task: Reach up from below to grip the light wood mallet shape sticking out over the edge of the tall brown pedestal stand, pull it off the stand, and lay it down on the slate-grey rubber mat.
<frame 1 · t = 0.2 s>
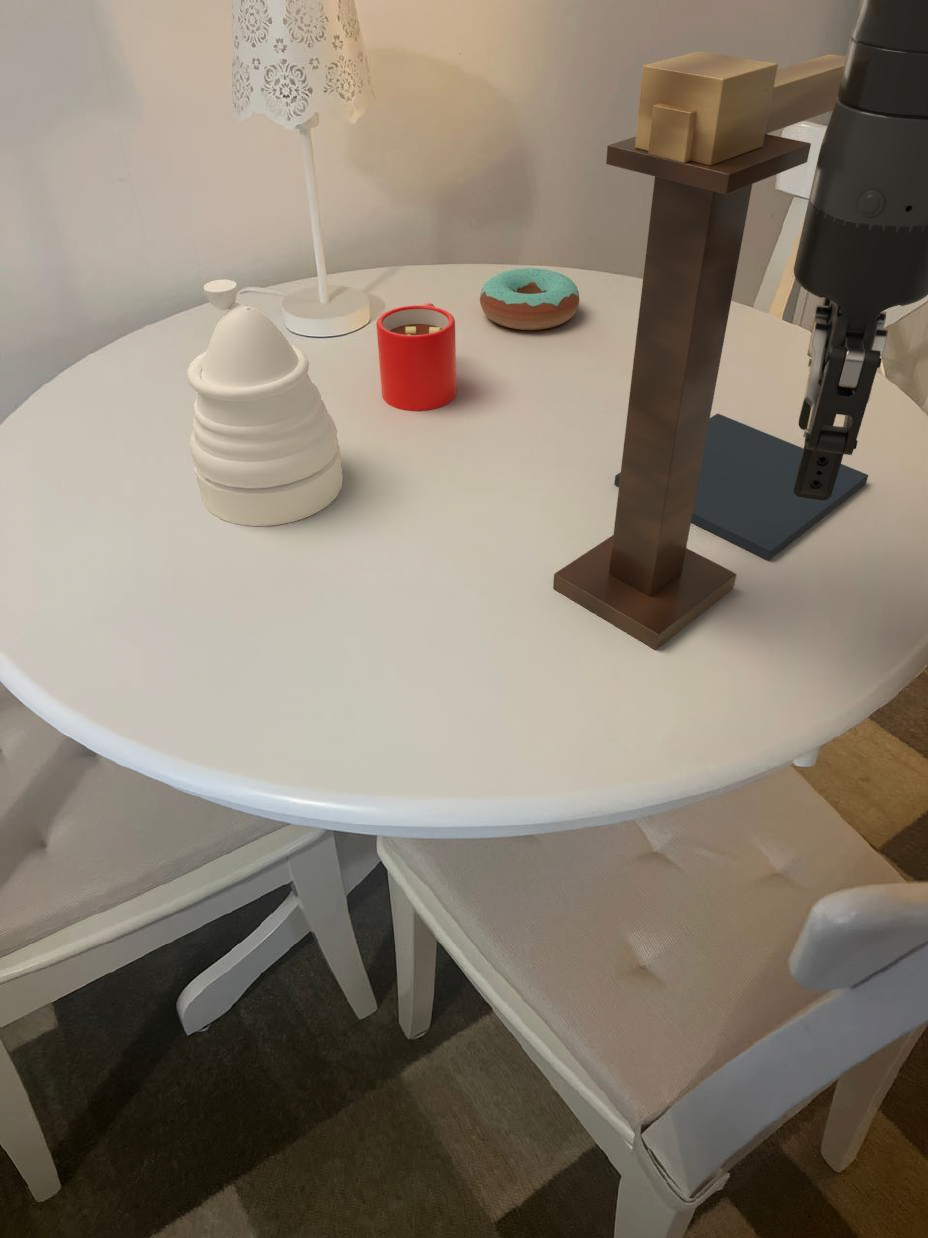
hand: (812, 460, 60), 14 cm above the table, tool pointing down, fingers open, 8 cm apart
light wood mallet shape: (758, 126, 54), point 32 cm above the table, touching brown pedestal stand
brown pedestal stand: (642, 588, 72), on the table
mat: (739, 484, 83), on the table
donut: (528, 316, 112), on the table
mug: (422, 384, 99), on the table
honey pot: (272, 486, 84), on the table
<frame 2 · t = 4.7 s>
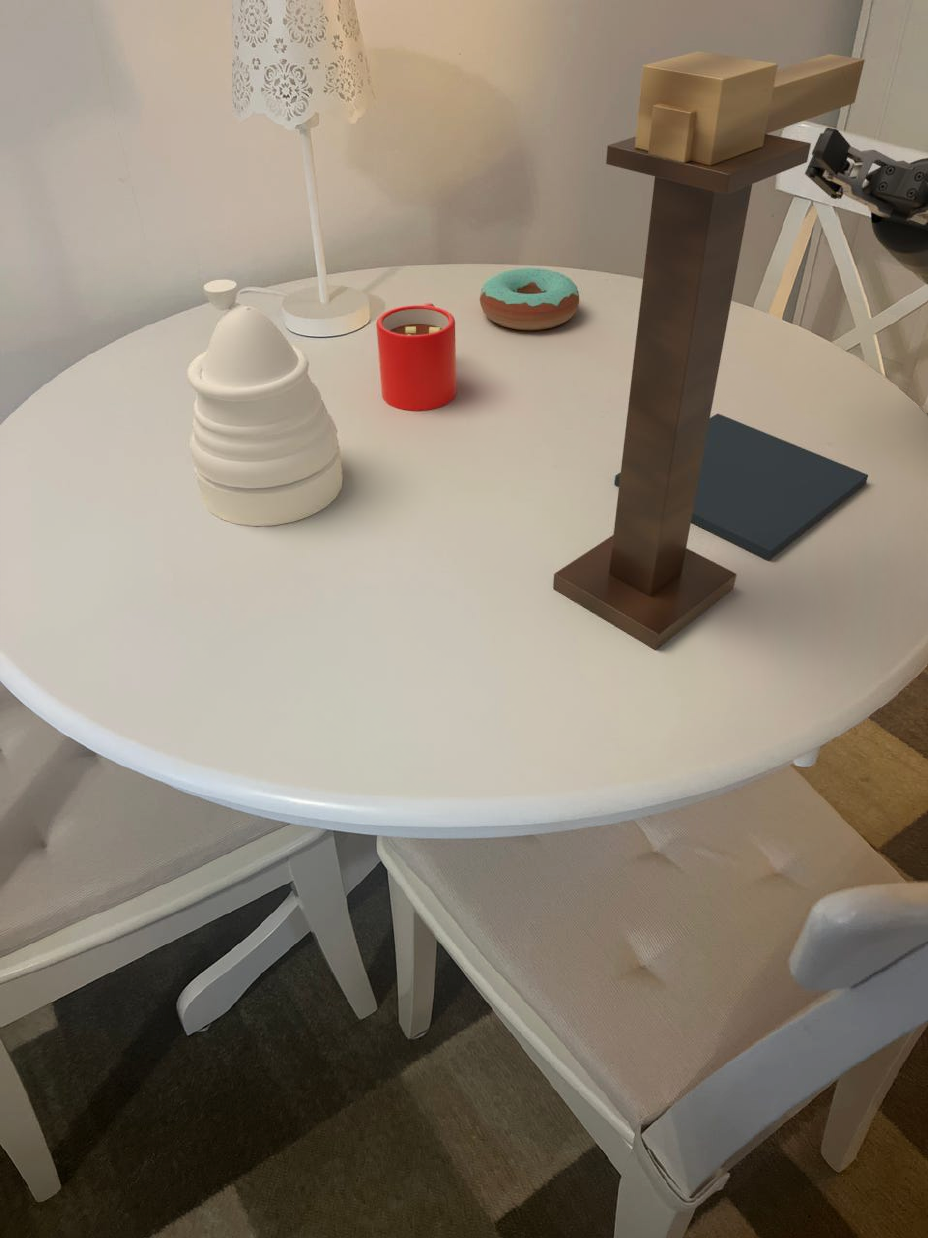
hand: (878, 152, 66), 27 cm above the table, tool pointing upward, fingers open, 8 cm apart
nothing on the table moved.
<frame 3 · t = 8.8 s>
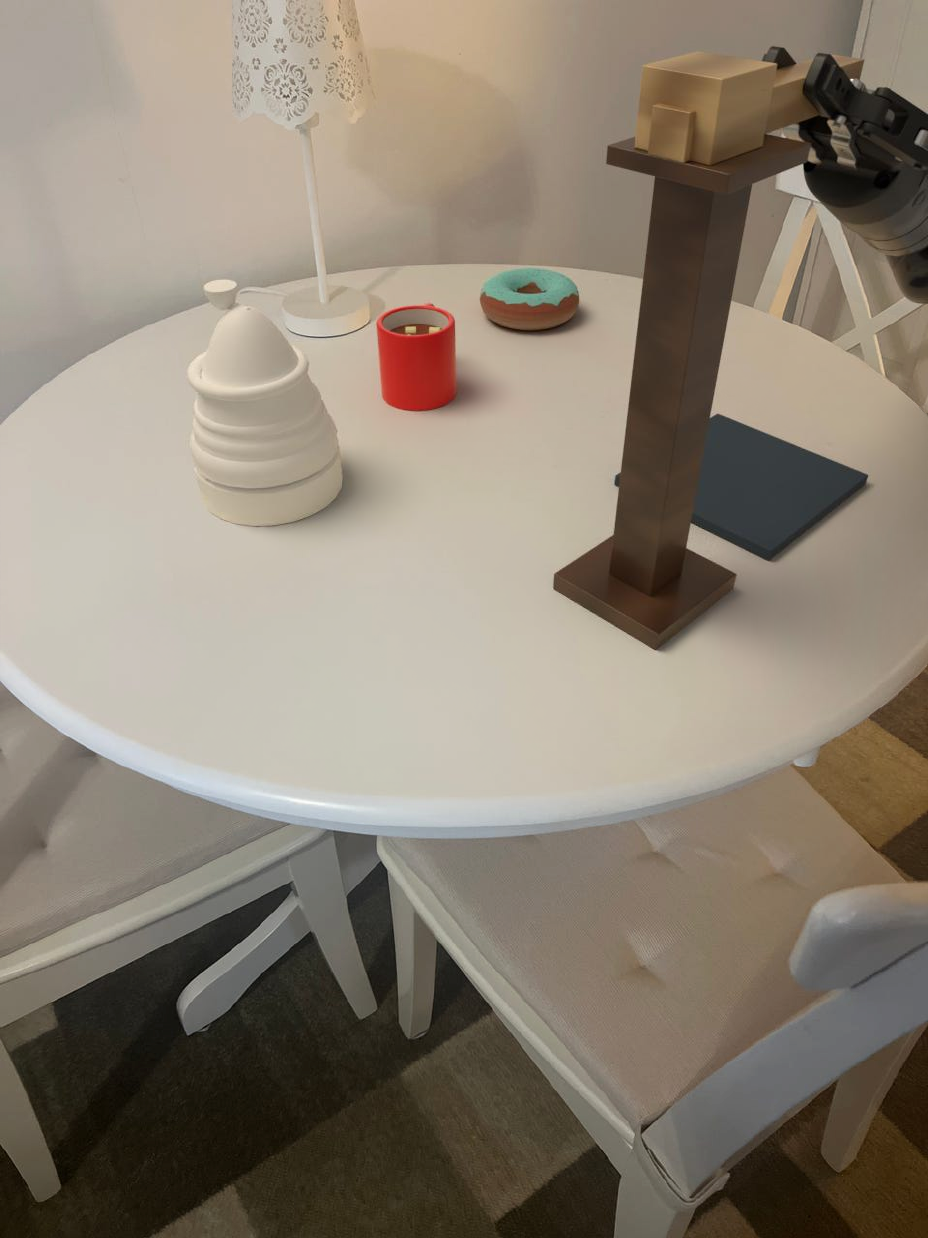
hand: (791, 67, 53), 35 cm above the table, tool pointing upward, fingers closed on light wood mallet shape, 2 cm apart
light wood mallet shape: (758, 126, 54), point 32 cm above the table, touching gripper, brown pedestal stand
everything else where it was.
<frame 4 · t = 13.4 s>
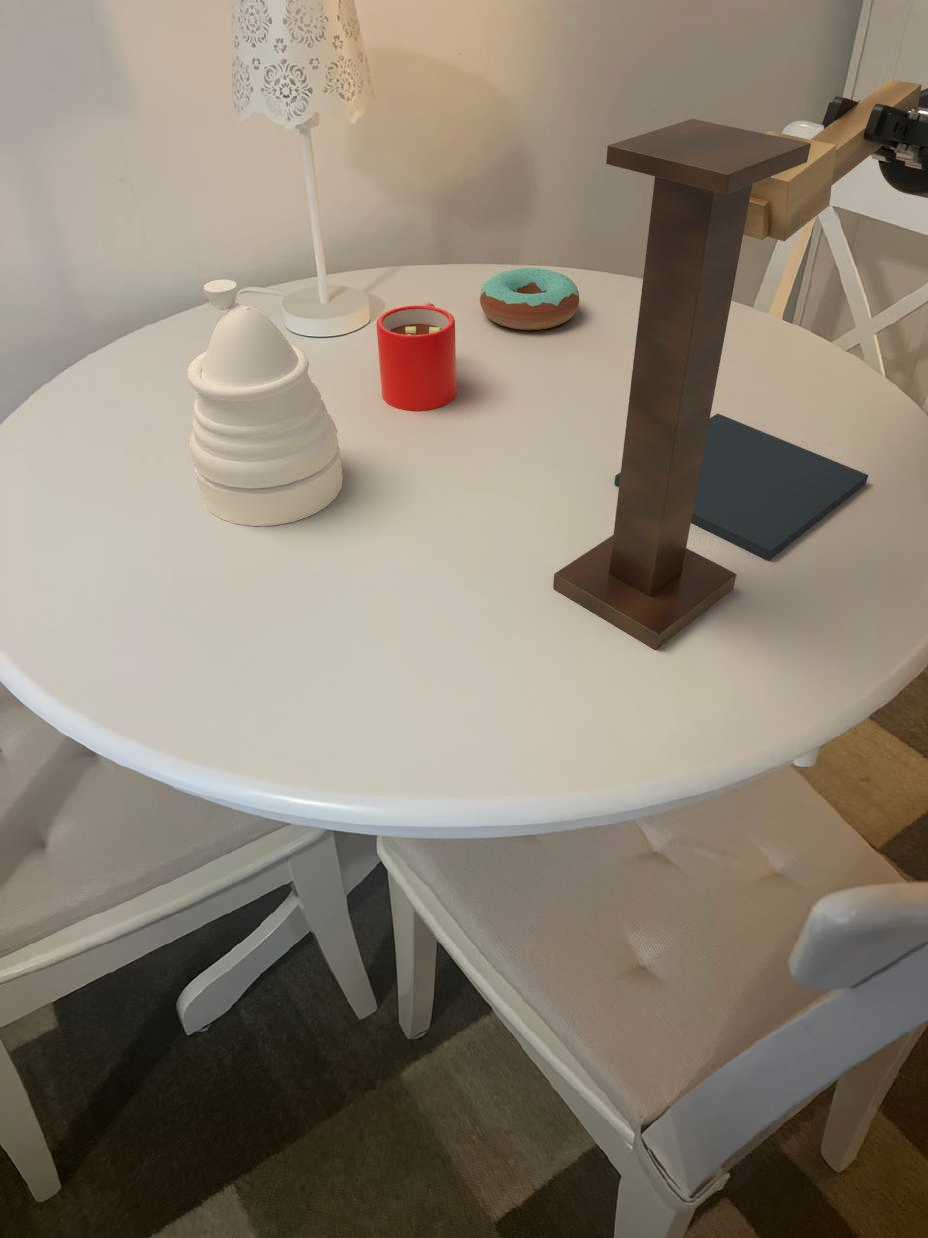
hand: (853, 117, 63), 30 cm above the table, tool pointing upward, fingers closed on light wood mallet shape, 2 cm apart
light wood mallet shape: (827, 173, 64), point 27 cm above the table, tilted 14°, touching gripper
everything else where it was.
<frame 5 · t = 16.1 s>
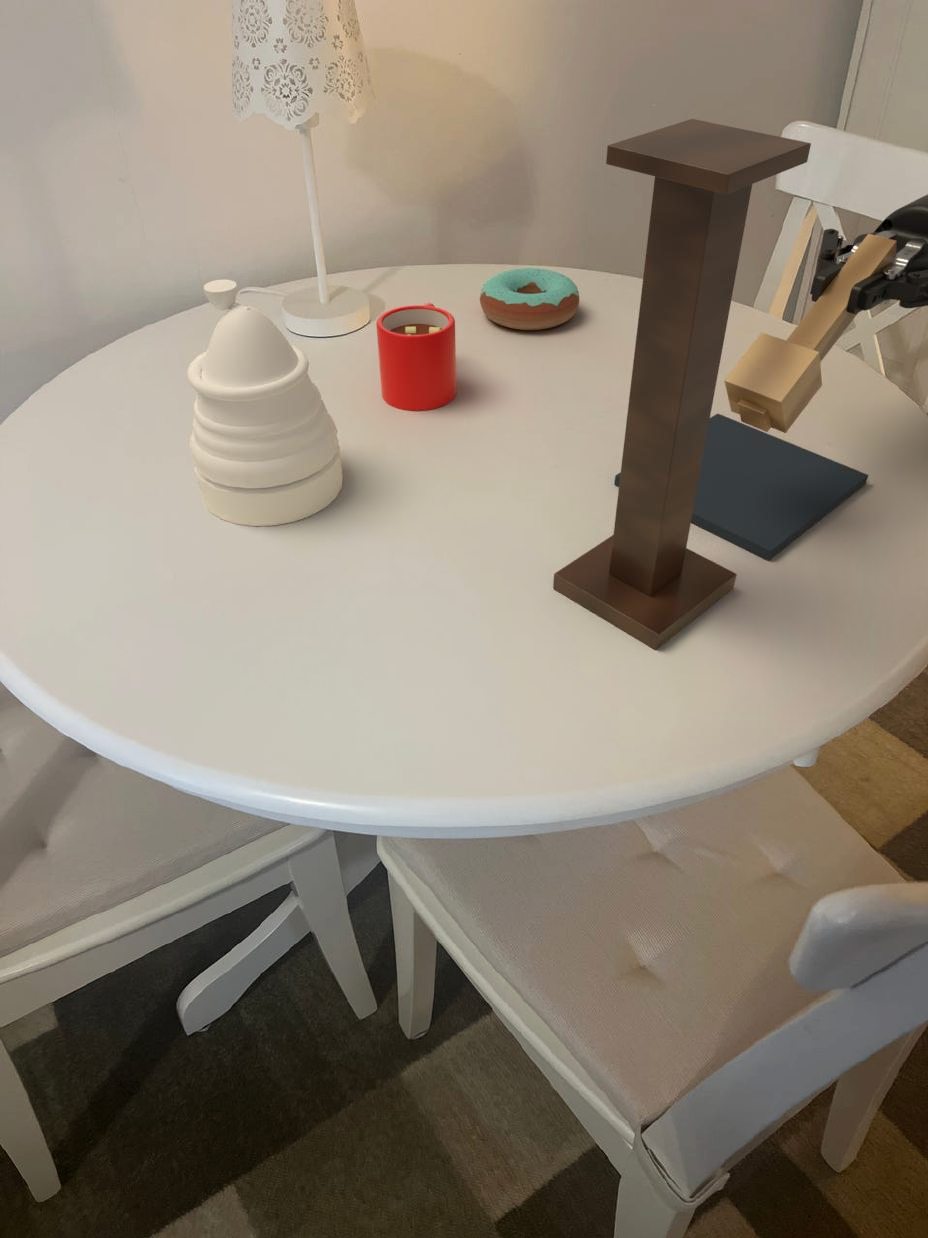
hand: (835, 295, 72), 17 cm above the table, tool horizontal, fingers closed on light wood mallet shape, 2 cm apart
light wood mallet shape: (819, 341, 74), point 14 cm above the table, tilted 30°, touching gripper
everything else where it was.
when the fingers open (9 cm above the table, at t = 18.4 s): light wood mallet shape drops 5 cm, resting on mat.
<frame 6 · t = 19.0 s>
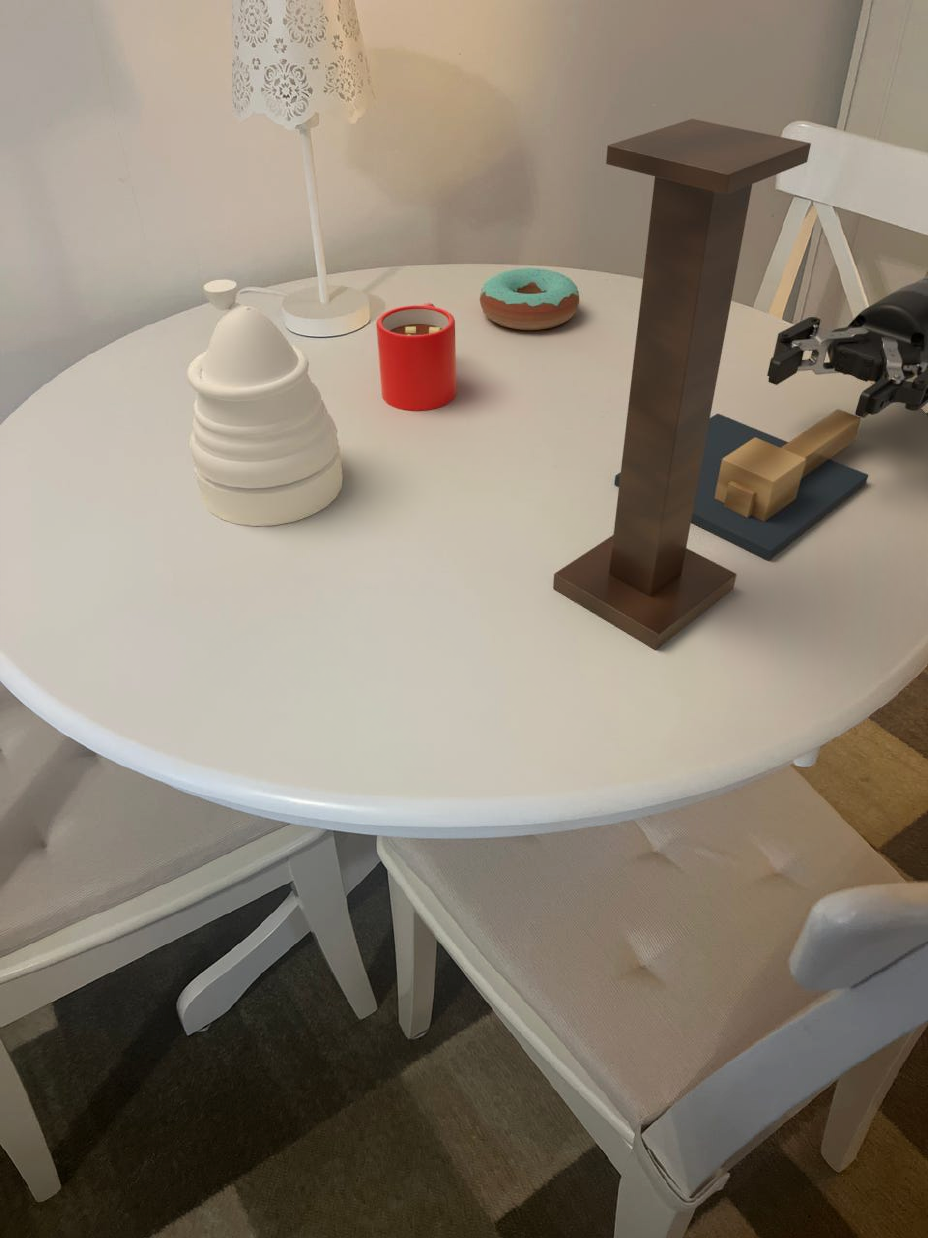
hand: (816, 389, 78), 9 cm above the table, tool horizontal, fingers open, 7 cm apart
light wood mallet shape: (792, 471, 83), point 1 cm above the table, touching mat
everything else where it was.
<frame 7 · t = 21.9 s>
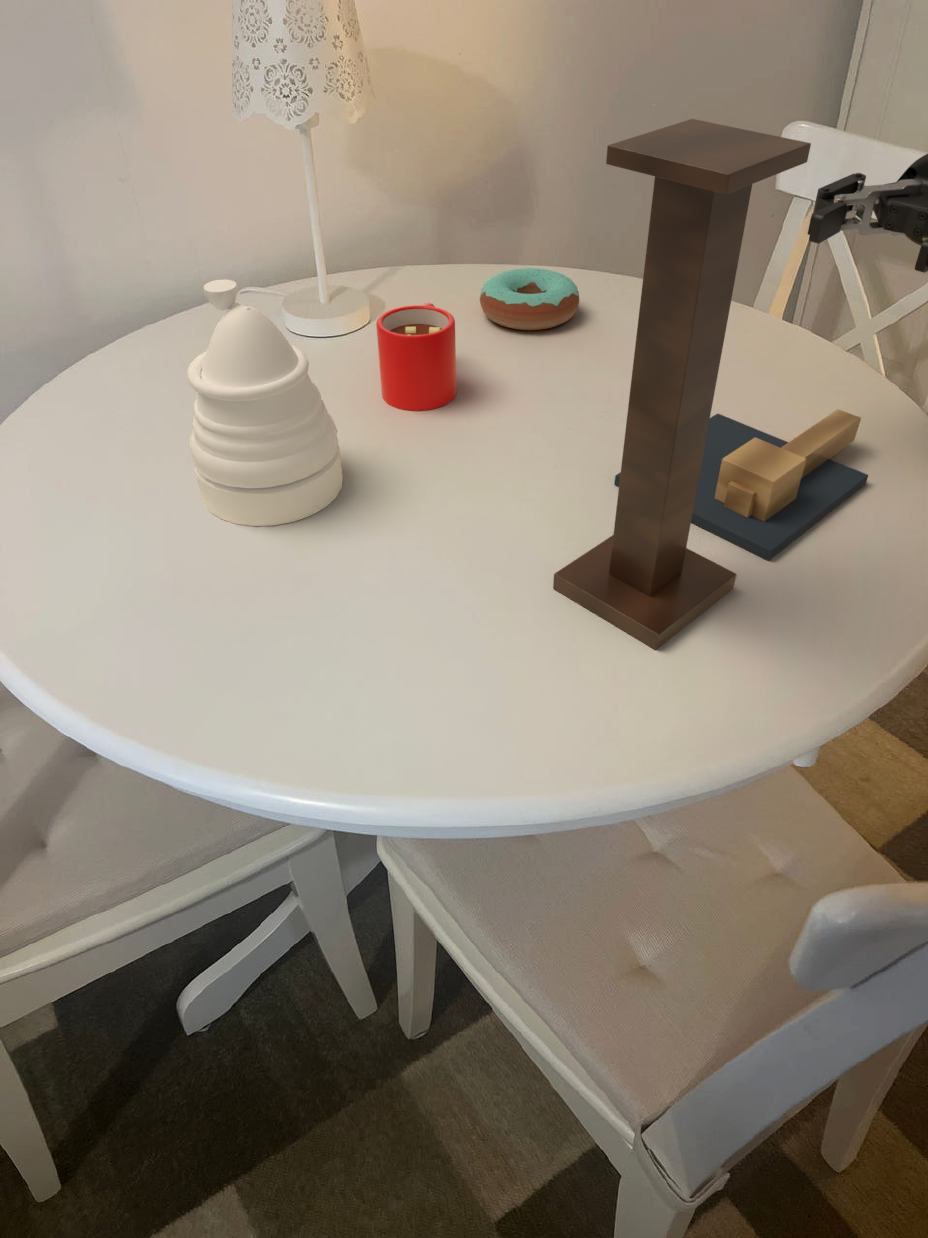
hand: (867, 243, 69), 21 cm above the table, tool horizontal, fingers open, 8 cm apart
nothing on the table moved.
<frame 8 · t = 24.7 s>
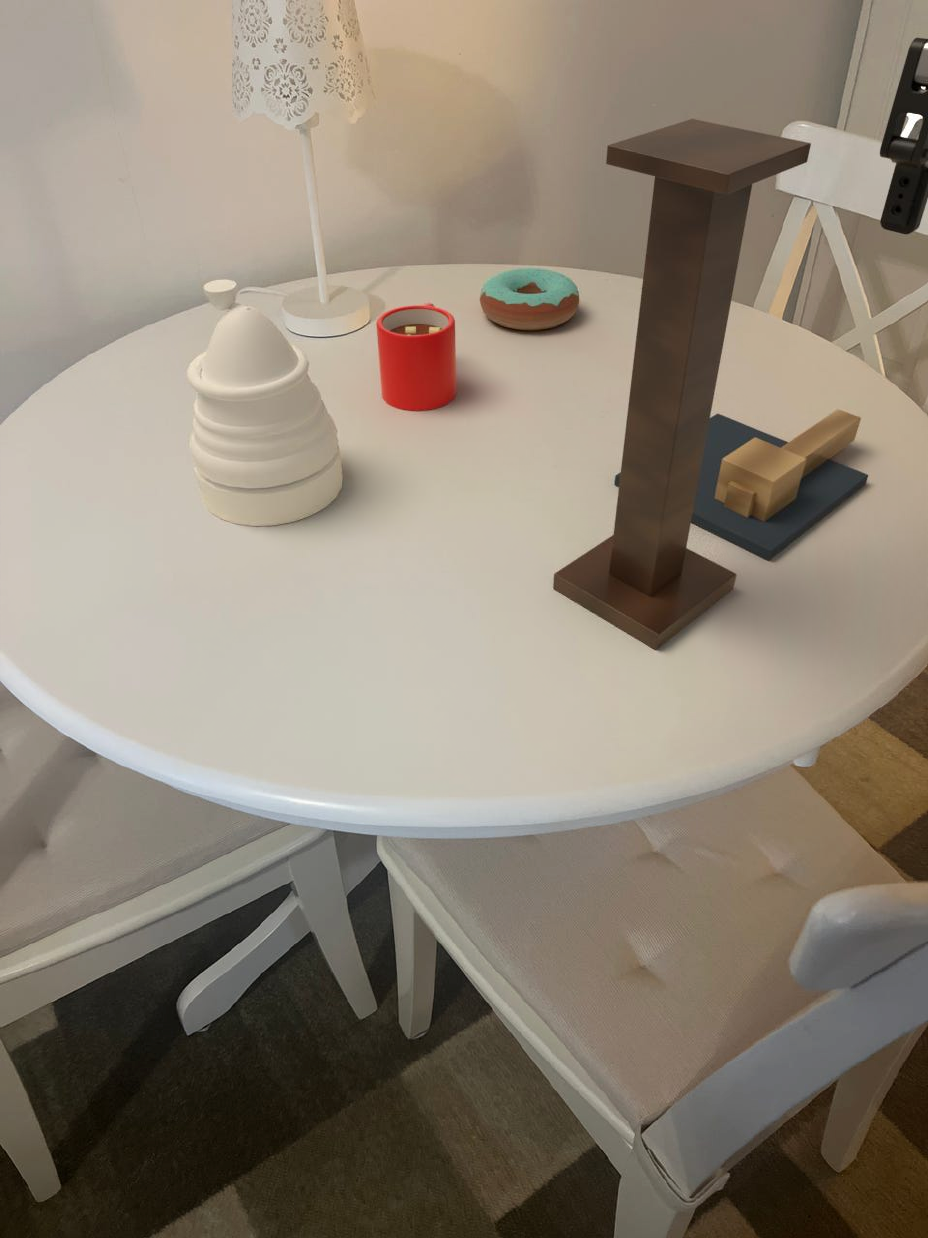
nothing on the table moved.
at the end: light wood mallet shape inside the target area on the mat (4.6 cm from its centre), point 1.0 cm above the mat's base; light wood mallet shape point 1.0 cm above the table; the gripper is holding nothing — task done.
